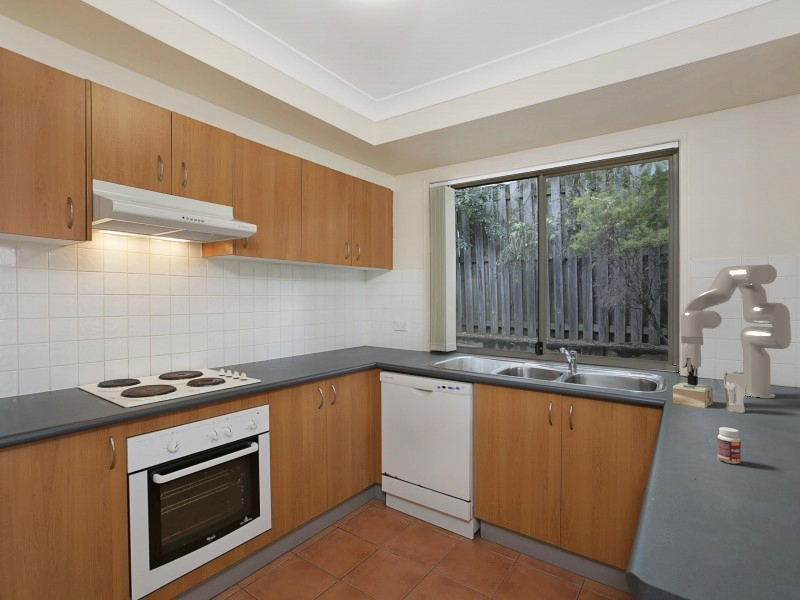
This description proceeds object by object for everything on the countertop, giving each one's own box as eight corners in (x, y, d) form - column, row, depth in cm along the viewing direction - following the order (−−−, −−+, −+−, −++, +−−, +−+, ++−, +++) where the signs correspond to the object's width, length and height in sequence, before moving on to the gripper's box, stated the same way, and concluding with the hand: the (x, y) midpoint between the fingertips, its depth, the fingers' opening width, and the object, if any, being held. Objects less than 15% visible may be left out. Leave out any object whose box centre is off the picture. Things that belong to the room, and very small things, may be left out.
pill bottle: (735, 466, 106) (734, 433, 106) (713, 460, 110) (713, 428, 110) (744, 463, 108) (744, 430, 108) (723, 457, 112) (723, 425, 112)
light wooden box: (681, 399, 183) (681, 385, 183) (712, 403, 174) (712, 389, 175) (672, 403, 175) (672, 388, 175) (704, 408, 167) (704, 392, 167)
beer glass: (726, 411, 161) (725, 372, 161) (722, 408, 167) (722, 370, 167) (749, 414, 157) (748, 374, 158) (744, 410, 164) (744, 371, 164)
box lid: (681, 384, 183) (681, 380, 183) (712, 388, 175) (712, 384, 175) (672, 388, 175) (672, 383, 175) (704, 392, 167) (704, 387, 167)
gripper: (686, 339, 182) (687, 381, 182) (676, 341, 172) (676, 386, 172) (707, 340, 176) (708, 383, 176) (697, 342, 167) (698, 388, 167)
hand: (692, 384), depth 174 cm, fingers closed
